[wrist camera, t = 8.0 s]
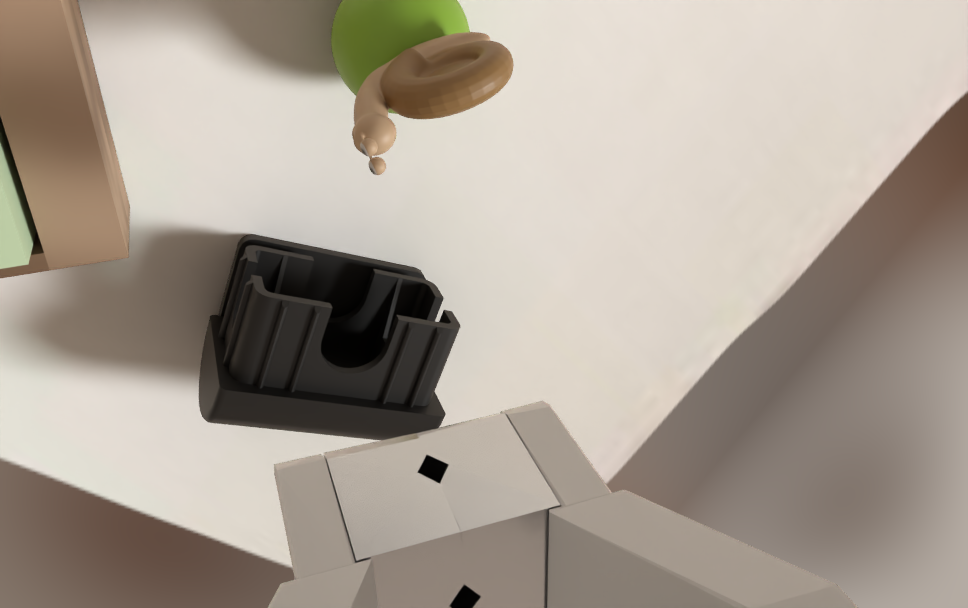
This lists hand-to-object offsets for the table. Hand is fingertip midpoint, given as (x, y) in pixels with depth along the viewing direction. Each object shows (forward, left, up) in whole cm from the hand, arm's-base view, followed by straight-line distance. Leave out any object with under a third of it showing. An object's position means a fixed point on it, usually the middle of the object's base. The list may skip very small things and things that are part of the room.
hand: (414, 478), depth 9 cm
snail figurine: (+2, +6, -29) cm, 30 cm away
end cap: (+15, +2, -29) cm, 33 cm away
